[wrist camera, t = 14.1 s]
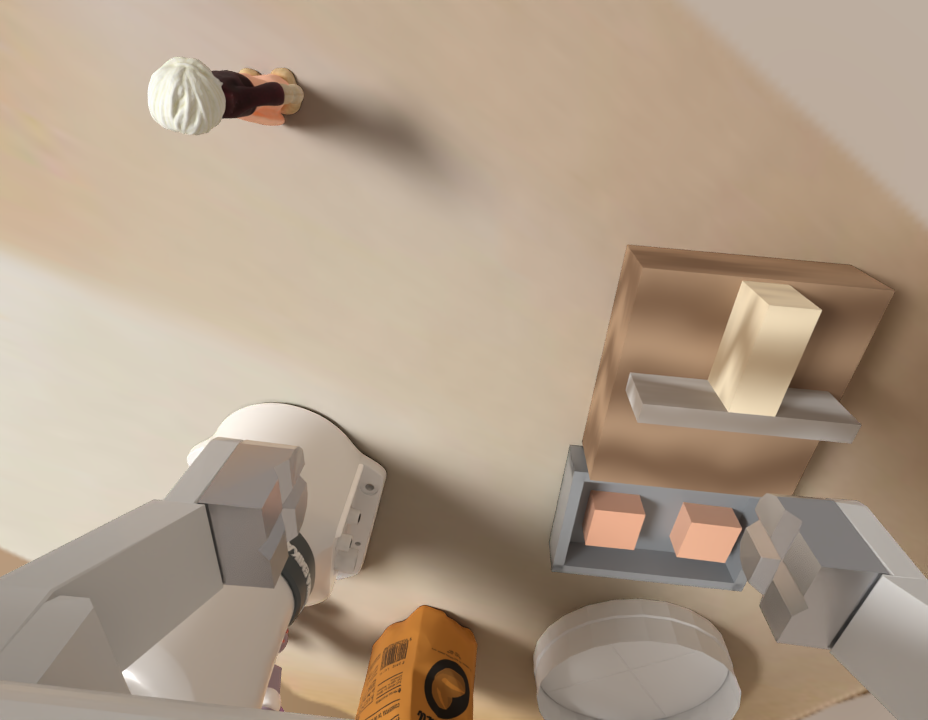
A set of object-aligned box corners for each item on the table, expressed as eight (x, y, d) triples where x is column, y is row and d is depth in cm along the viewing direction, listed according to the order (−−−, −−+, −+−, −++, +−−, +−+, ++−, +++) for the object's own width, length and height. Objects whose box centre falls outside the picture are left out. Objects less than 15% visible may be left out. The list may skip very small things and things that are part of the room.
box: (728, 561, 53) (741, 591, 50) (548, 542, 54) (551, 571, 51) (772, 465, 47) (791, 493, 44) (569, 445, 47) (574, 471, 44)
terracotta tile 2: (645, 514, 47) (639, 494, 49) (594, 509, 47) (590, 490, 49) (633, 550, 49) (628, 529, 51) (585, 545, 49) (581, 524, 51)
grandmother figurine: (232, 133, 36) (114, 162, 25) (210, 70, 35) (73, 73, 24) (338, 114, 35) (263, 136, 24) (322, 48, 34) (233, 40, 23)
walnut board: (763, 459, 47) (789, 500, 42) (582, 441, 47) (589, 480, 43) (850, 264, 38) (895, 290, 34) (627, 244, 38) (642, 267, 34)
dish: (752, 684, 63) (771, 730, 59) (583, 725, 70) (588, 769, 66) (683, 571, 55) (699, 615, 50) (498, 630, 62) (498, 673, 57)
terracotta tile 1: (742, 528, 47) (731, 507, 49) (691, 522, 47) (683, 502, 49) (725, 562, 49) (715, 541, 51) (676, 557, 49) (669, 536, 51)
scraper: (819, 408, 38) (851, 443, 35) (625, 390, 39) (637, 422, 35) (876, 292, 34) (919, 319, 30) (656, 272, 34) (673, 296, 31)
